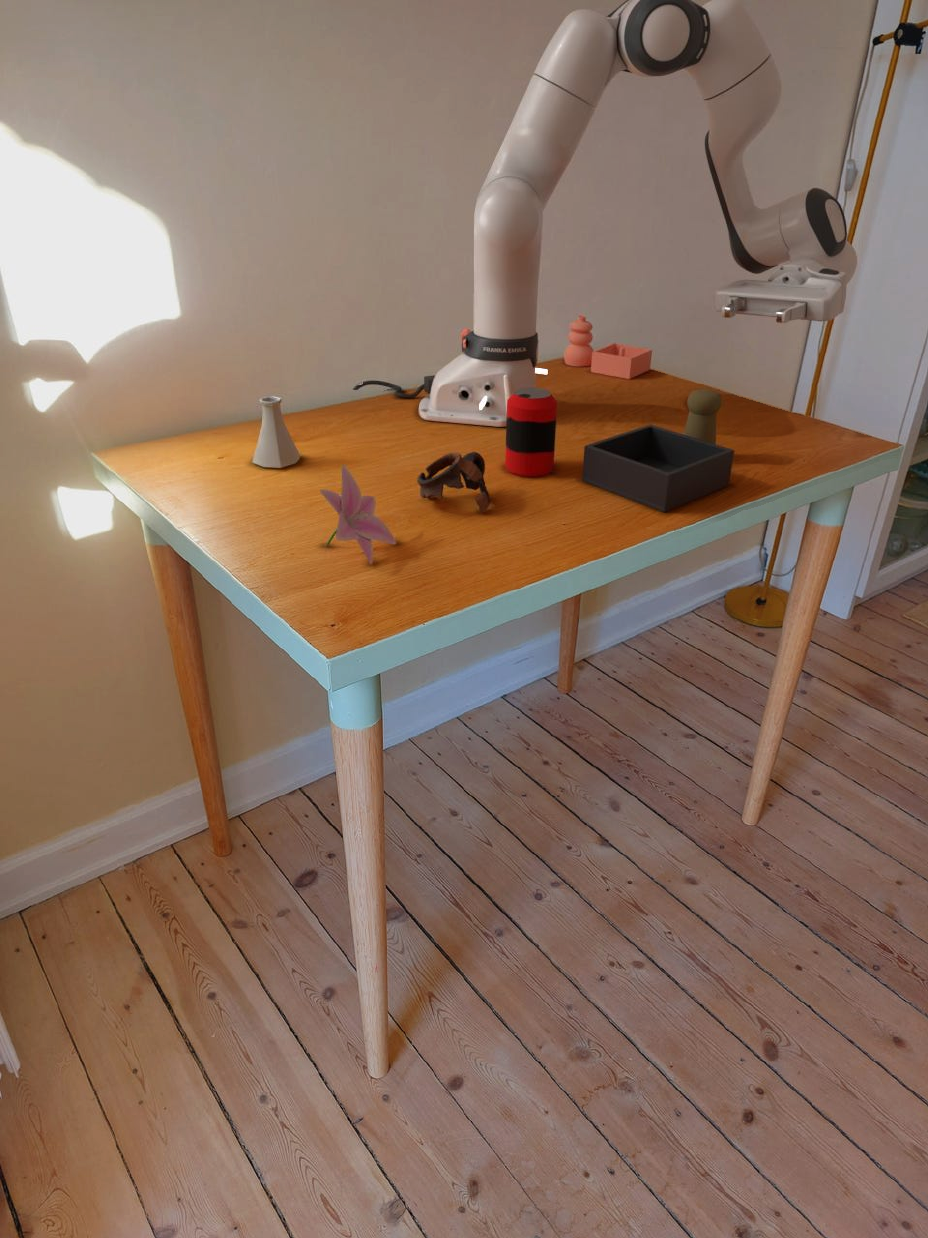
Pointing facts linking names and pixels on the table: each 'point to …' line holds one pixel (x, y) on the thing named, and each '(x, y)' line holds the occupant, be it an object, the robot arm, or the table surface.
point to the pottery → (604, 354)
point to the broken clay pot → (456, 476)
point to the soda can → (530, 432)
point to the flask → (274, 437)
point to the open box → (657, 467)
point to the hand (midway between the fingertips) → (752, 315)
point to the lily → (357, 516)
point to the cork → (703, 414)
